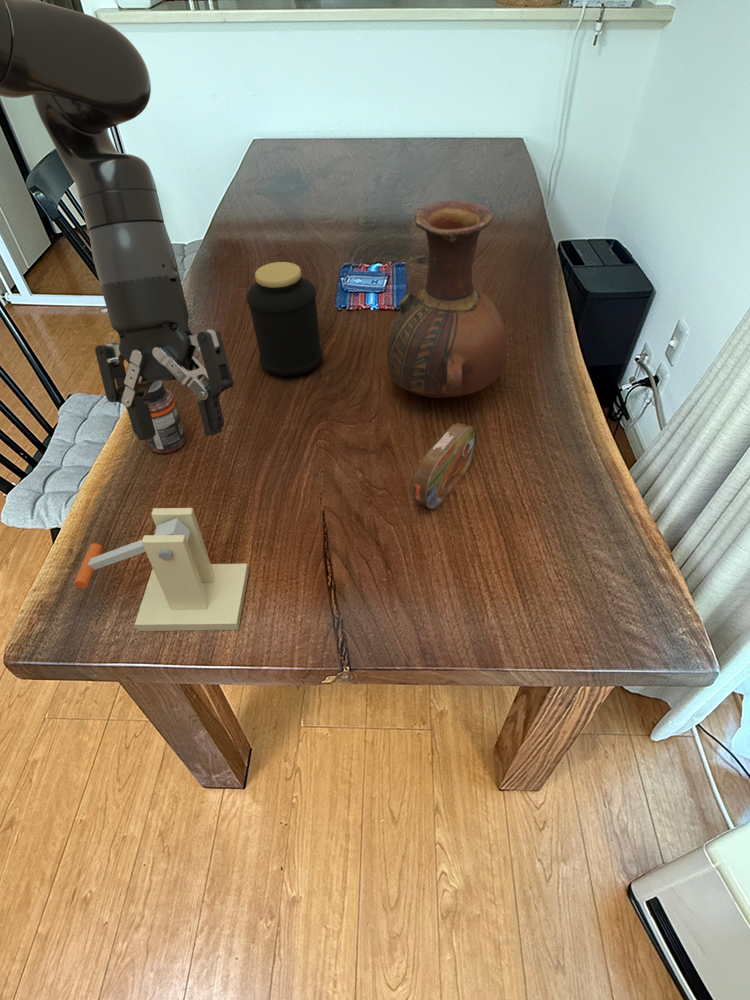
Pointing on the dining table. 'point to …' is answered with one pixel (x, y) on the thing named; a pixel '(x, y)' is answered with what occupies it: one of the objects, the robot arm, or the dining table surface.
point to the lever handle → (122, 552)
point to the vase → (448, 312)
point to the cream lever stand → (188, 582)
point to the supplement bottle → (164, 420)
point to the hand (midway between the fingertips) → (180, 436)
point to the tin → (444, 465)
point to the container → (285, 319)
